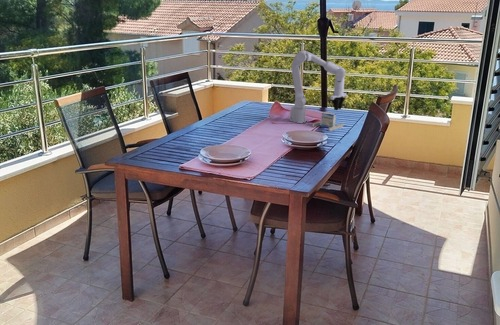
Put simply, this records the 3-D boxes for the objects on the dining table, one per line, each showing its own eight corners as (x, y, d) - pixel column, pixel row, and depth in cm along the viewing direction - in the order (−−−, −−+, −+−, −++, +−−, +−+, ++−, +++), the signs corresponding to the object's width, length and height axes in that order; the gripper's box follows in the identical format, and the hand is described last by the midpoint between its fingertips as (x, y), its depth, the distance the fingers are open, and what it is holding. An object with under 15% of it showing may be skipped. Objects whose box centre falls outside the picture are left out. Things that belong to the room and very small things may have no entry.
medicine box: (320, 126, 302) (321, 113, 299) (323, 125, 306) (324, 111, 303) (332, 128, 299) (333, 114, 296) (335, 126, 302) (336, 113, 299)
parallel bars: (312, 126, 302) (312, 123, 301) (326, 122, 311) (326, 119, 310) (329, 131, 293) (330, 127, 293) (343, 126, 303) (343, 123, 302)
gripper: (337, 90, 293) (336, 112, 298) (351, 87, 303) (349, 108, 307) (328, 88, 298) (326, 110, 302) (341, 85, 307) (340, 106, 312)
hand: (337, 109), depth 305 cm, fingers open, 3 cm apart
